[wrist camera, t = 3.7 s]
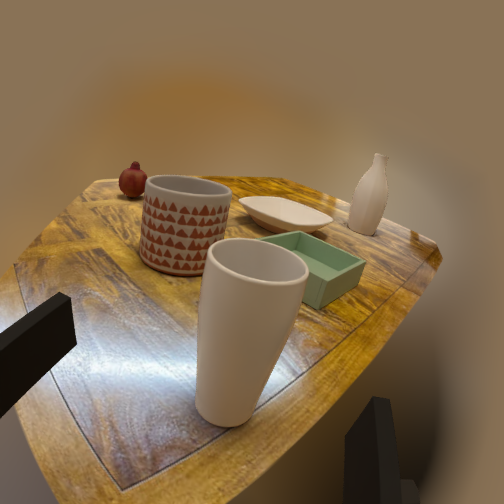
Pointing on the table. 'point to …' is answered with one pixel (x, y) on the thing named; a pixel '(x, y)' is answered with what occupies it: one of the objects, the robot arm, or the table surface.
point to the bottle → (369, 198)
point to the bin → (321, 266)
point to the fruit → (133, 181)
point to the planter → (182, 222)
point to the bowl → (284, 215)
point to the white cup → (243, 324)
